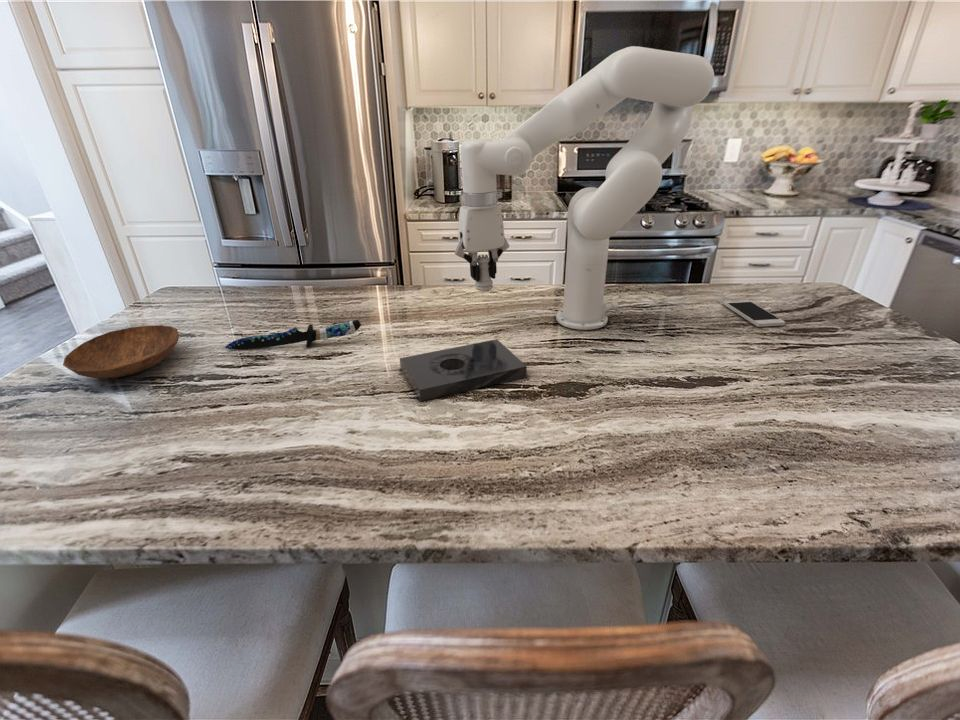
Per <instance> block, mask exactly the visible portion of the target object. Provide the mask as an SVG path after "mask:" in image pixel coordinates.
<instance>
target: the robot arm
mask: <svg viewBox="0 0 960 720" xmlns="http://www.w3.org/2000/svg"><path fill="white" fill-rule="evenodd" d="M714 83H715V71H714V68H713V66H712V64H711V62H710V61H709V60H708V59H706V57H704V56H701V55H698V54H692V53H687V52H686V53H684V52H678V51H670V50H663V49H657V48H652V47H645V46H637V45H636V46H635V45H632V46H631V45H630V46H627V47H624V48H621V49H619V50H617V51H615V52H613V53H611V54H610V55H608V56H607V57H605V58H604V59H603V60H602V61H601V62H600V63H598V64H597V65H595V66H594V67H593V68H591V69H590V70H588V71H587V72H586V73H585V74H584V75H582V76H581V77H580V78H579V79H577V80H576V81H575V82H573V83H571V85H569V86H568V87H567V88H565V89H564V90H562V91H561V92H560V93H559V94H557V95H556V96H554V97H553V98H552V99H551V100H550V101H549V102H548V103H546V105H544V106H543V107H542V108H540V110H538V111H537V112H535V113H534V114H533V115H531V116H530V117H528V118H527V119H526V120H524V121H523V122H522V123H521V124H519V125H518V126H517V127H515V128H514V129H513V130H511V131H510V132H509V133H508V134H506V135H505V136H504V137H503V138H502V139H499V140H492V139H490V138H474V139H473V138H472V139H466V140H464V141H462V142H461V143H460V148H459V149H460V163H461V164H460V167H461V182H462V199H463V205H461V206H460V207H459V212H458V226H457V228H458V230H457V231H458V233H457V235H458V237H457V240H458V244H457V246H456V249H455V250H454V255H456V257H460V258H461V259H463V260H465V261H466V262H467V263H469V272H470V277H471V278H472V280H474V281H475V282H478V281H480V275H479V265H478V263H477V258H478V253H479V252H486V251H487V253H488V254H487V255H488V258H489V259H490V261H489V262H488V265H489V267H488V271H489V276H490V278H491V279H494V280H495V279H496V274H497V272H498V271H497V262H498V261H499V258H500V257H501V256H502V254H503V252H505V251H506V250H508V249H509V248H510V244H509V242H508V240H507V238H506V237H505V226H504V219H503V213H502V209H501V204H499V203H498V202H499V199H502V198H503V192H502V191H498V189H497V186H498V185H497V175H501V176H512V177H514V176H520V175H522V174H524V173H525V172H527V171H528V169H529V168H530V167H531V164H532V161H533V159H534V158H535V157H536V156H537V155H539V154H540V153H542V152H543V151H544V150H546V149H547V148H549V147H551V146H552V145H554V144H555V143H557V142H559V141H561V140H564V139H565V138H566V139H567V138H569V137H572V136H574V135H577V134H578V133H581V132H582V131H583V130H585V129H586V128H588V127H589V126H590V125H592V124H593V123H594V122H595V121H596V120H598V119H600V118H601V117H603V115H605V114H606V113H607V112H609V111H610V110H612V109H613V108H614V107H616V106H617V105H619V104H620V103H622V102H623V101H624V100H626V99H633V100H638V101H645V102H651V103H653V105H652V110H651V113H650V115H649V116H648V118H647V120H646V121H645V122H644V124H642V126H641V127H640V129H638V131H636V133H635V134H634V135H633V136H632V137H631V138H630V139H629V140H628V142H626V144H625V145H624V146H623V147H622V148H621V149H620V150H618V152H616V153H615V155H614V156H613V157H612V158H611V159H610V160H609V162H608V163H607V165H606V169H605V174H604V175H605V176H604V177H605V180H604V182H602V184H600V186H599V187H595V186H587V187H584V188H582V189H580V190H578V191H577V192H576V193H574V195H573V196H572V198H571V199H570V201H569V204H568V207H567V219H566V220H567V222H566V223H567V242H566V259H565V274H564V286H563V287H564V289H563V305H562V309H561V310H559V311H558V312H557V313H556V315H555V320H556V322H557V323H558V324H559V325H561V326H563V327H565V328H569V329H572V330H579V331H590V330H591V331H592V330H597V329H601V328H603V327H605V326H606V325H607V324H608V320H609V318H608V315H607V313H608V312H609V311H616V310H618V309H619V307H620V306H619V303H618V302H617V301H613V302H608V300H604V298H605V296H604V295H605V288H606V278H607V277H606V276H607V267H608V258H609V249H610V248H609V247H610V238H612V237H613V236H614V235H615V234H617V233H618V232H619V231H620V230H621V229H622V228H623V227H624V226H625V225H626V224H627V223H628V222H629V221H630V220H631V219H632V218H633V217H634V216H635V215H636V214H637V213H638V212H639V211H640V210H641V209H643V207H645V205H646V204H647V203H648V202H649V201H650V200H651V199H652V198H653V196H654V195H656V193H657V191H658V189H659V187H660V185H661V183H662V179H663V166H662V165H663V164H664V163H665V162H666V160H668V158H669V157H670V156H671V155H672V153H674V151H675V150H676V149H677V148H678V147H679V145H680V144H681V143H682V142H683V141H684V139H685V137H686V135H687V133H688V131H689V129H690V126H691V121H692V116H693V109H694V106H696V105H697V104H699V103H701V102H703V101H704V100H705V99H706V97H708V95H709V94H710V92H711V91H712V88H713V86H714ZM464 251H465V252H464Z"/></svg>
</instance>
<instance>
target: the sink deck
mask: <svg viewBox="0 0 960 720" xmlns="http://www.w3.org/2000/svg"><path fill="white" fill-rule="evenodd" d="M399 367H400V370H401V372H402V374H403V375H404V377H405V378H406V380H407V382H408V384H409V385H410V387H411V388H412V390H413V392H414V393H415V395H416V397H417V399H418V400H419V402H423V401H429V400H433V399H437V398H442V397H447V396H451V395H455V394H459V393H463V392H464V393H465V392H468V391H473V390H477V389H481V388H485V387H489V386H494V385H499V384H503V383H507V382H512V381H516V380H521V379H526V378H527V372H528V370H527V367H528V366H527V365H526V364H525V363H524V362H522V360H521V359H519V358H518V356H516V355H515V354H514V353H513V352H511V350H510V349H509V348H508V347H507V346H505V345H504V344H503V343H502V342H501V341H500V340H498V339H491V340H485V341H481V342H475V343H471V344H466V345H460V346H455V347H451V348H445V349H440V350H435V351H430V352H425V353H420V354H415V355H410V356H409V355H408V356H404V357H400V358H399Z"/></svg>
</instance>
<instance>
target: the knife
mask: <svg viewBox="0 0 960 720" xmlns="http://www.w3.org/2000/svg"><path fill="white" fill-rule="evenodd" d="M361 326H362V323H361V322H360V319H354V320H349V321H345V322H343V323H339V324H335V325H330V326H327V327H324V328H319V329H314V325H313V324H308V327H307V329H306V331H301V330H298V328H297V327H296V326H295V327H293V328H291V329H289V330H286V331H282V332H277V333H271V334H262V335H253V336H246V337H245V336H244V337H241V338H237V339H235V340H233V341H231V342H229V343H228V344H227V345H226V346H225V349H228V350H237V351H238V350H239V351H240V350H255V349H265V348H273V347H279V346H285V345H292V344H297V343H302V342H306V348H310V347H311V345H312V343H313V342H317V341H321V340H326V339H327V340H328V339H332V338H337V337H343V336H348V335H349V336H350V335H354V334H355V333H356V332H358V330H359V329H360V328H361Z"/></svg>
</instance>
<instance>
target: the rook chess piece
mask: <svg viewBox="0 0 960 720" xmlns="http://www.w3.org/2000/svg"><path fill="white" fill-rule="evenodd" d="M489 261H490V259H489V255H488V254H479V255H478V254H477V265H479V275H480V281H478V282H476V281H475V282H474V284H475V286H474V288H475V289H476V290H477V291H479V292H488V291H491V290H493V288H494V285H493V284H494V281H493V280H492V278H491V277H490V276H489V271H488V267H489V265H488V262H489Z"/></svg>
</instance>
